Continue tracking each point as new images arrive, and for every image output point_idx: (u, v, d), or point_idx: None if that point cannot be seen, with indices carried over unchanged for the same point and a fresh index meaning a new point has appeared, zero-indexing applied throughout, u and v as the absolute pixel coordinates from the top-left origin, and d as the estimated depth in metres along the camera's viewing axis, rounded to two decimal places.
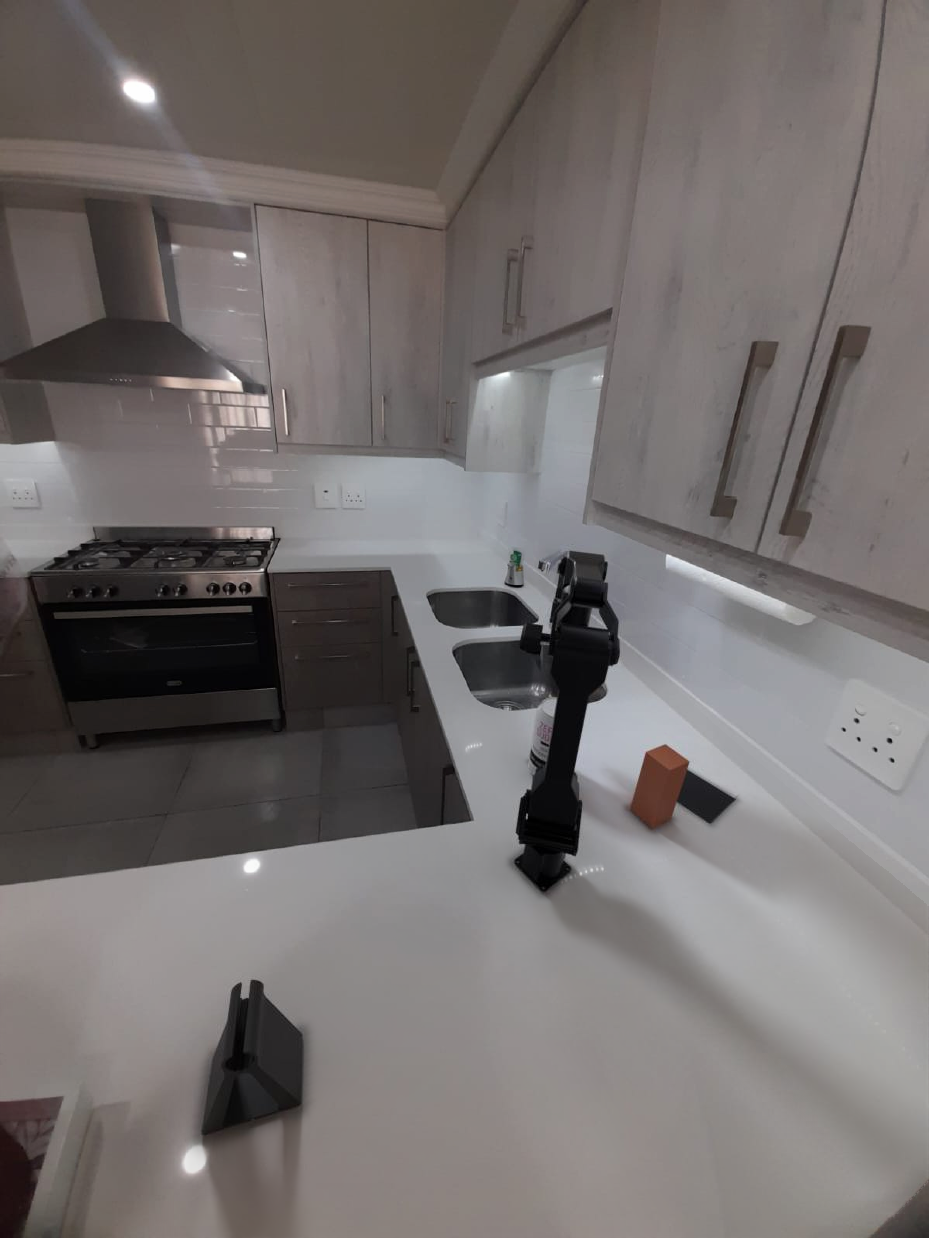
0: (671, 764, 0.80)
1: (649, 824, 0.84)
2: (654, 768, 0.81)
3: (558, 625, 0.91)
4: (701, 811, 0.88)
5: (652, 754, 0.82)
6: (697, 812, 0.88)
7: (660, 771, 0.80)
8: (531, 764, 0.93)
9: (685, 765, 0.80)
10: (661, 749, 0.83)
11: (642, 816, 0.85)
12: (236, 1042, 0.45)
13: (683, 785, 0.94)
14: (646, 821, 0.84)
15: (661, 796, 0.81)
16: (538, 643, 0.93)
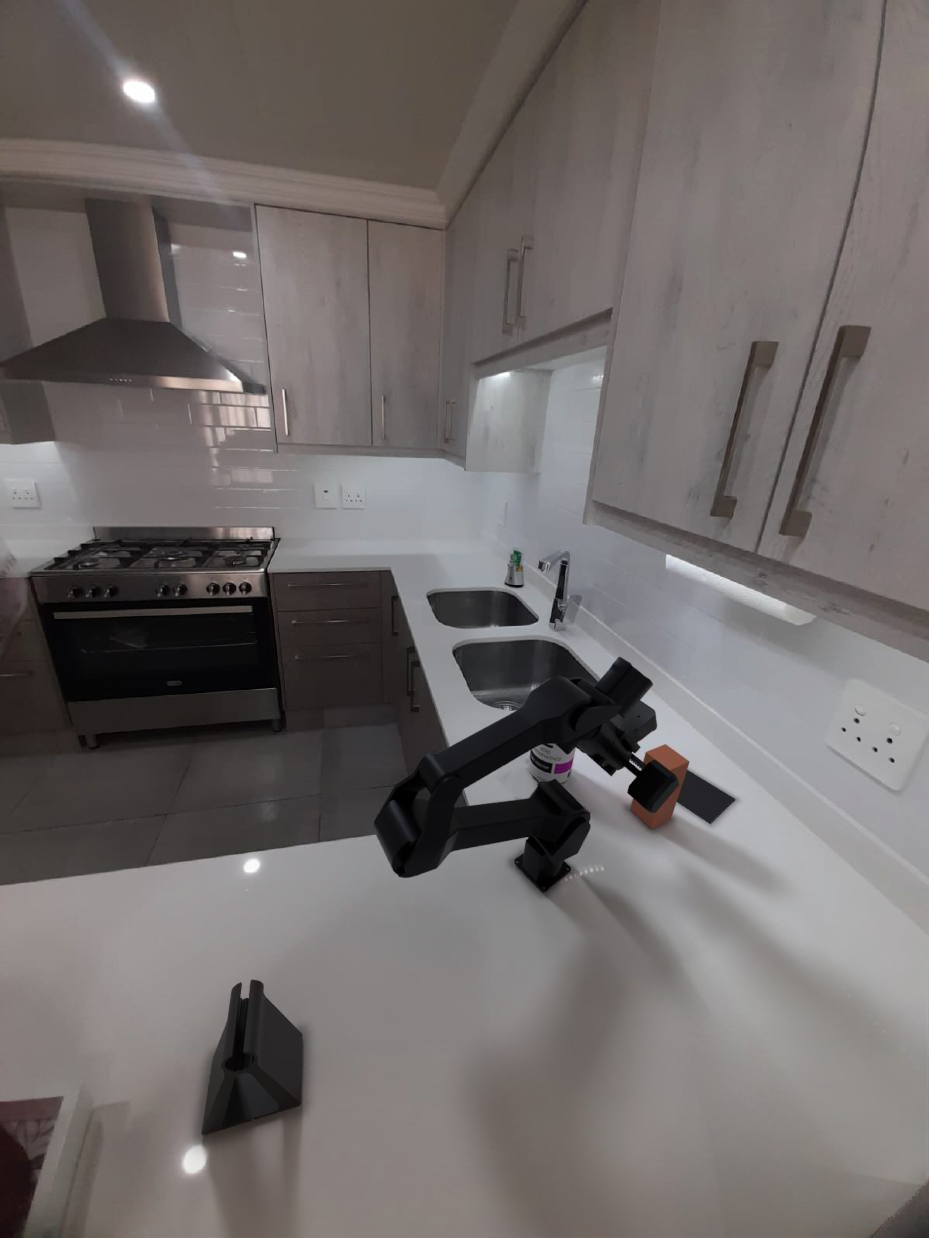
0: (671, 764, 0.80)
1: (649, 824, 0.84)
2: None
3: None
4: (701, 811, 0.88)
5: (652, 754, 0.82)
6: (697, 812, 0.88)
7: None
8: (531, 764, 0.93)
9: (685, 765, 0.80)
10: (661, 749, 0.83)
11: (642, 816, 0.85)
12: (236, 1042, 0.45)
13: (683, 785, 0.94)
14: (646, 821, 0.84)
15: None
16: None
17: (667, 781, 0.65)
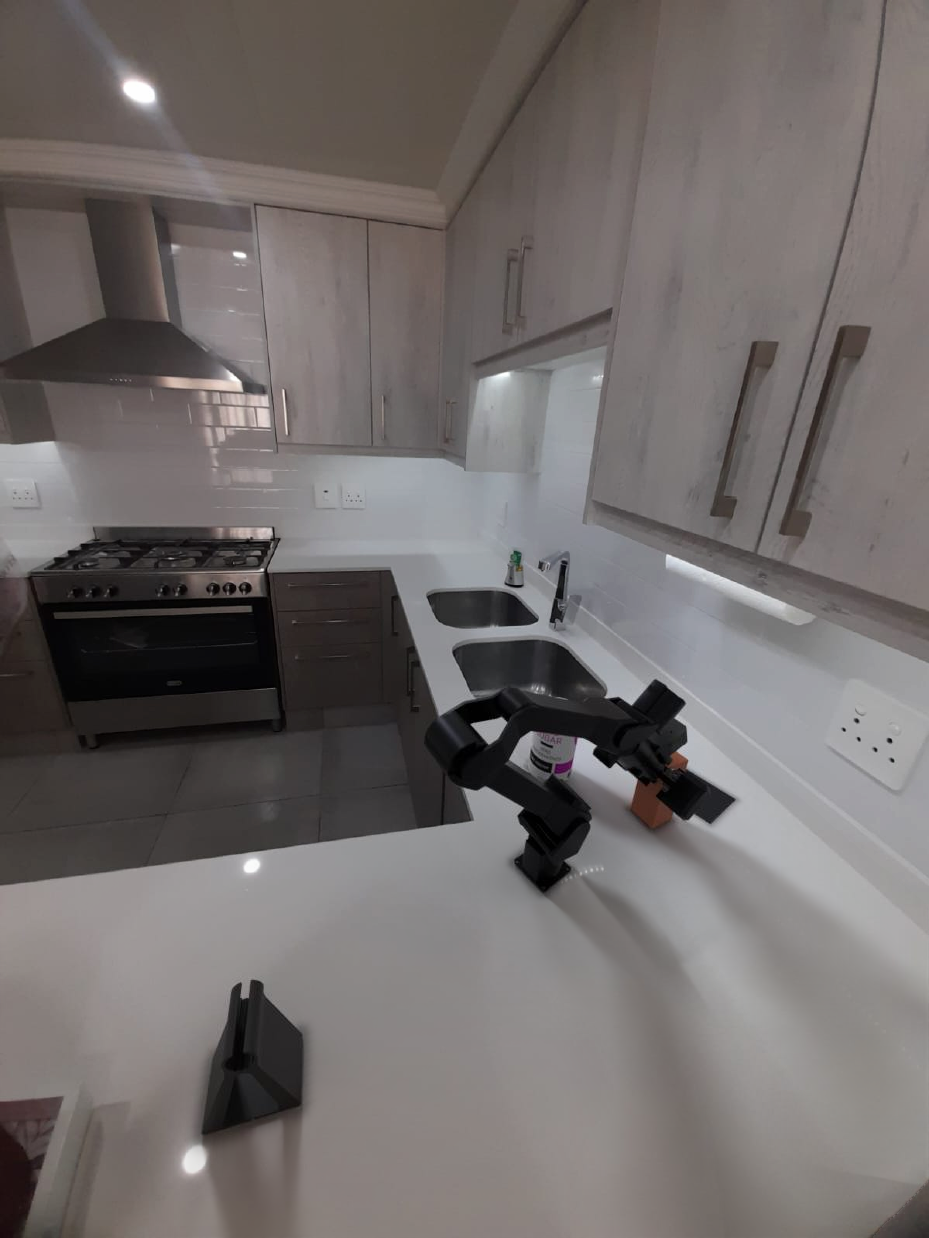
0: (670, 763, 0.80)
1: (649, 824, 0.84)
2: None
3: None
4: (701, 811, 0.88)
5: None
6: (697, 812, 0.88)
7: None
8: (531, 764, 0.93)
9: (684, 763, 0.81)
10: None
11: (642, 816, 0.85)
12: (236, 1042, 0.45)
13: None
14: (646, 821, 0.84)
15: None
16: None
17: (699, 792, 0.72)
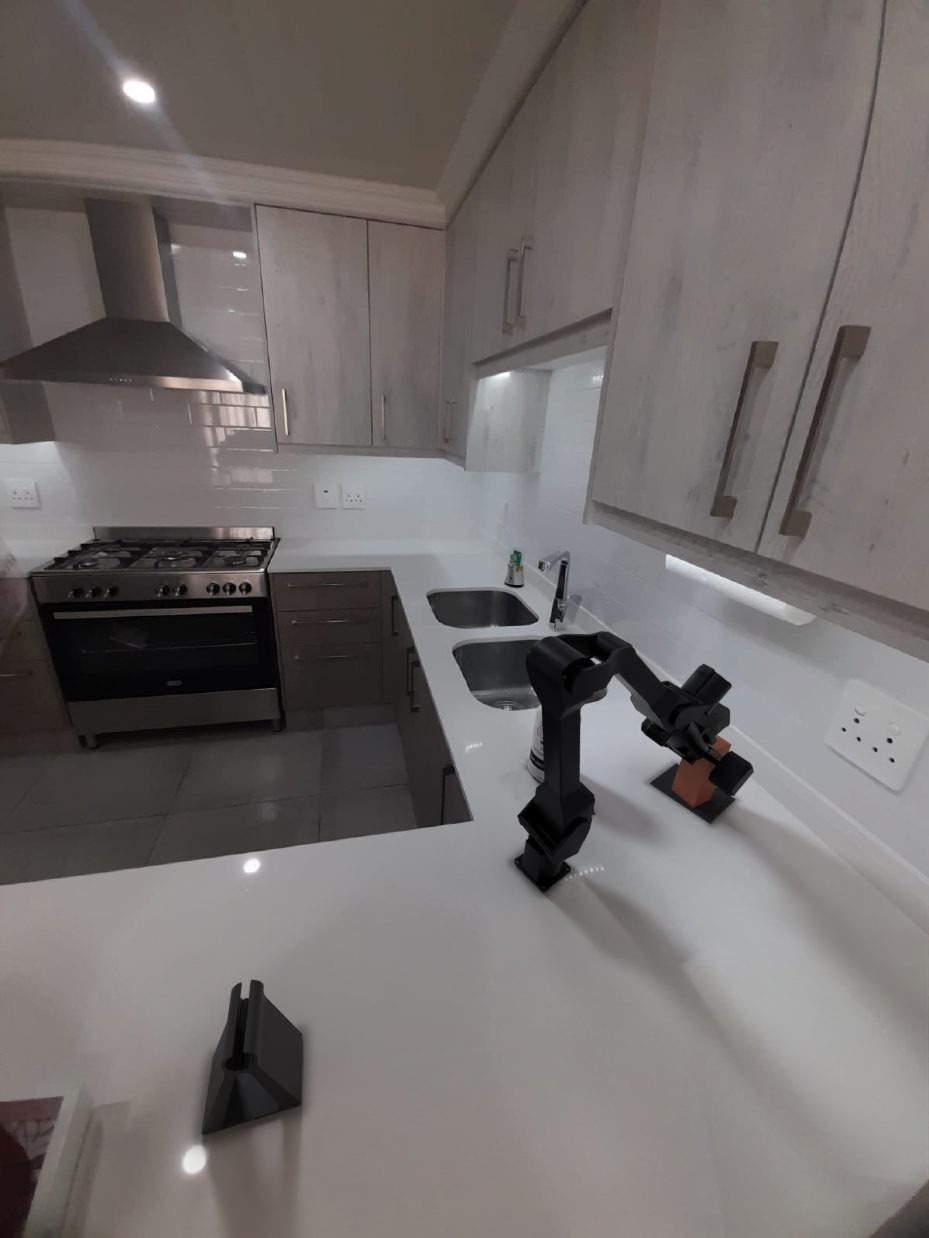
0: (715, 746, 0.85)
1: (690, 803, 0.89)
2: None
3: None
4: (701, 811, 0.88)
5: None
6: (697, 812, 0.88)
7: None
8: (531, 764, 0.93)
9: (727, 747, 0.85)
10: None
11: (683, 796, 0.90)
12: (236, 1042, 0.45)
13: None
14: (687, 800, 0.90)
15: (703, 776, 0.86)
16: None
17: (745, 768, 0.77)
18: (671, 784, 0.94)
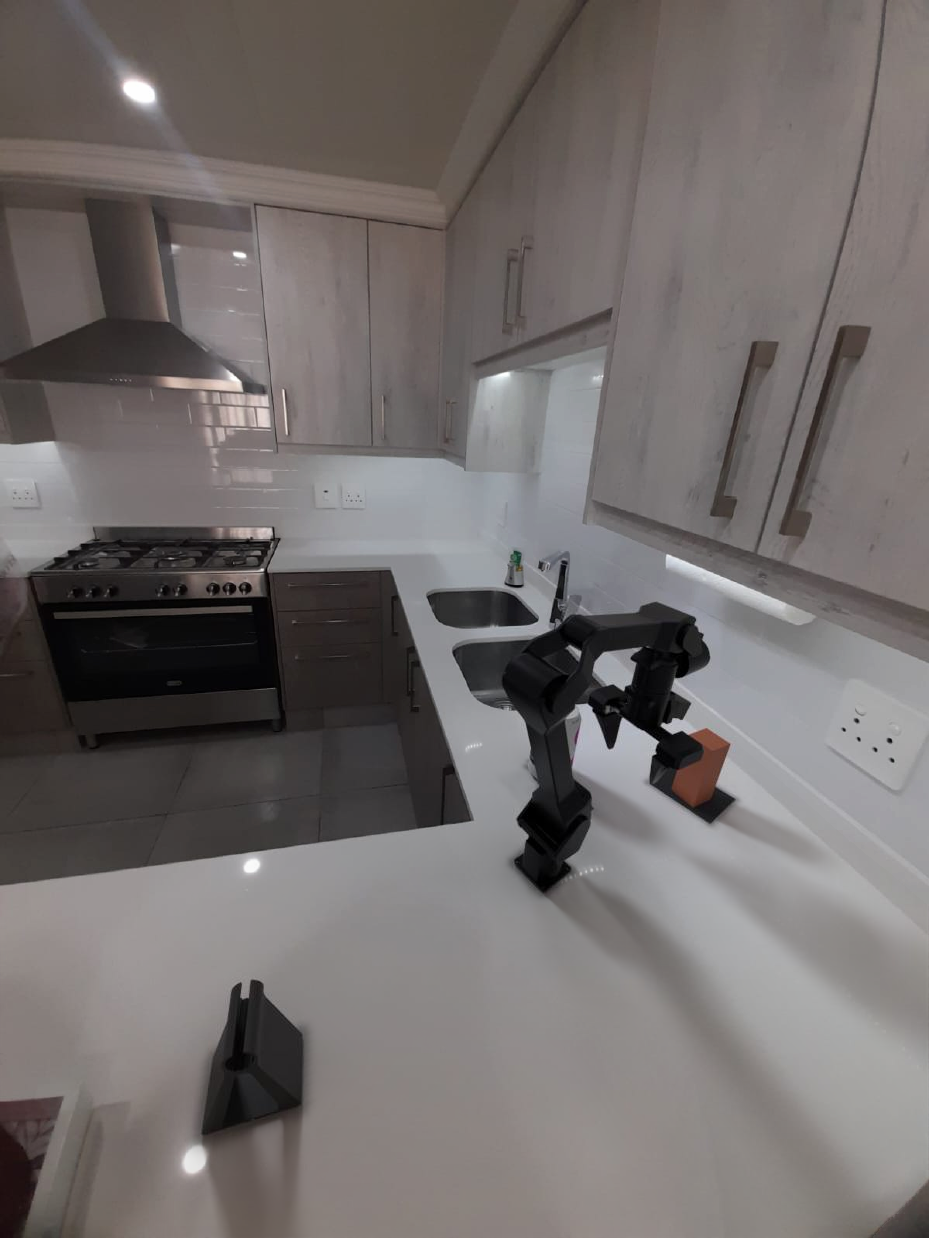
0: (714, 746, 0.85)
1: (690, 803, 0.89)
2: None
3: None
4: (701, 811, 0.88)
5: (695, 737, 0.87)
6: (697, 812, 0.88)
7: None
8: (531, 764, 0.93)
9: (726, 747, 0.85)
10: (703, 732, 0.88)
11: (683, 796, 0.90)
12: (236, 1042, 0.45)
13: None
14: (687, 800, 0.90)
15: (703, 776, 0.86)
16: (603, 703, 0.80)
17: (699, 746, 0.70)
18: (671, 784, 0.94)
